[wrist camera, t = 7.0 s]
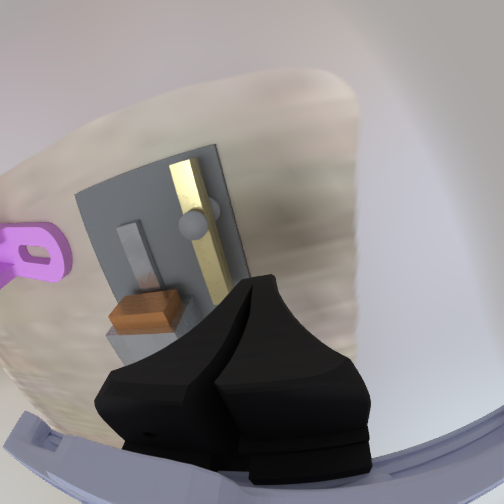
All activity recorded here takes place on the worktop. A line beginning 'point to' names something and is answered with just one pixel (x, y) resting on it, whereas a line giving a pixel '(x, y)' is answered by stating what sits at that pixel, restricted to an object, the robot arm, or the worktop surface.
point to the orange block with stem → (146, 310)
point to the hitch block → (149, 279)
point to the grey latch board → (161, 226)
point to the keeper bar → (210, 245)
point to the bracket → (22, 263)
